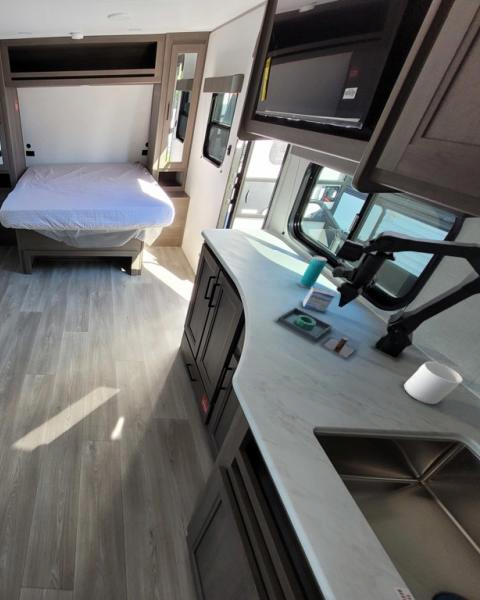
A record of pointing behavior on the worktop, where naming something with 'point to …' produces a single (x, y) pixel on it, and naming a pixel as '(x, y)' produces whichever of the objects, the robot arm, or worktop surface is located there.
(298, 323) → the ring
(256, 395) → the worktop surface
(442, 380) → the mug
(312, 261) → the beverage can
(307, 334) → the tray
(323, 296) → the medicine box
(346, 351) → the stand
